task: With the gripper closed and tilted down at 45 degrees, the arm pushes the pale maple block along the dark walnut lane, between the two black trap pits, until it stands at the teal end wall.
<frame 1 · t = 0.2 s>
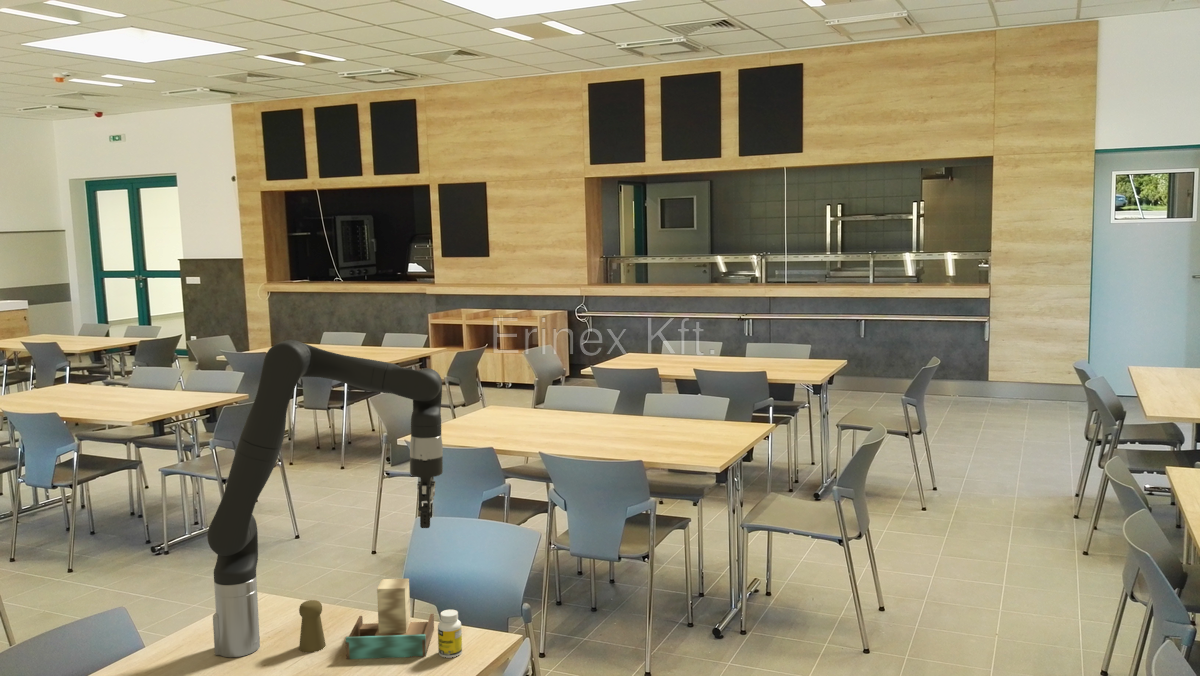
hand: (426, 522, 220), 29 cm above the table, tool pointing down, fingers open, 8 cm apart
maple block: (394, 627, 227), point 2 cm above the table, touching trap lane
trap lane: (391, 643, 223), on the table
supplement bottle: (450, 654, 217), on the table
olive pawn: (312, 647, 221), on the table
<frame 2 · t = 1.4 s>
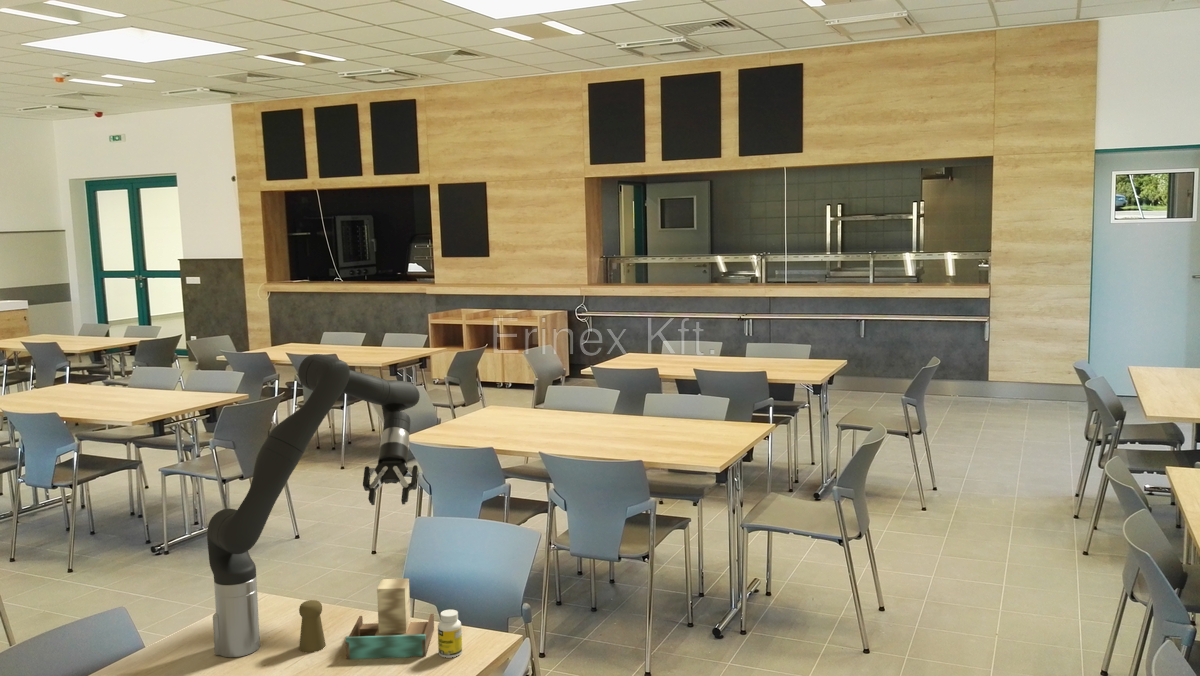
hand: (387, 503, 239), 29 cm above the table, tool tilted 45°, fingers open, 7 cm apart
nothing on the table moved.
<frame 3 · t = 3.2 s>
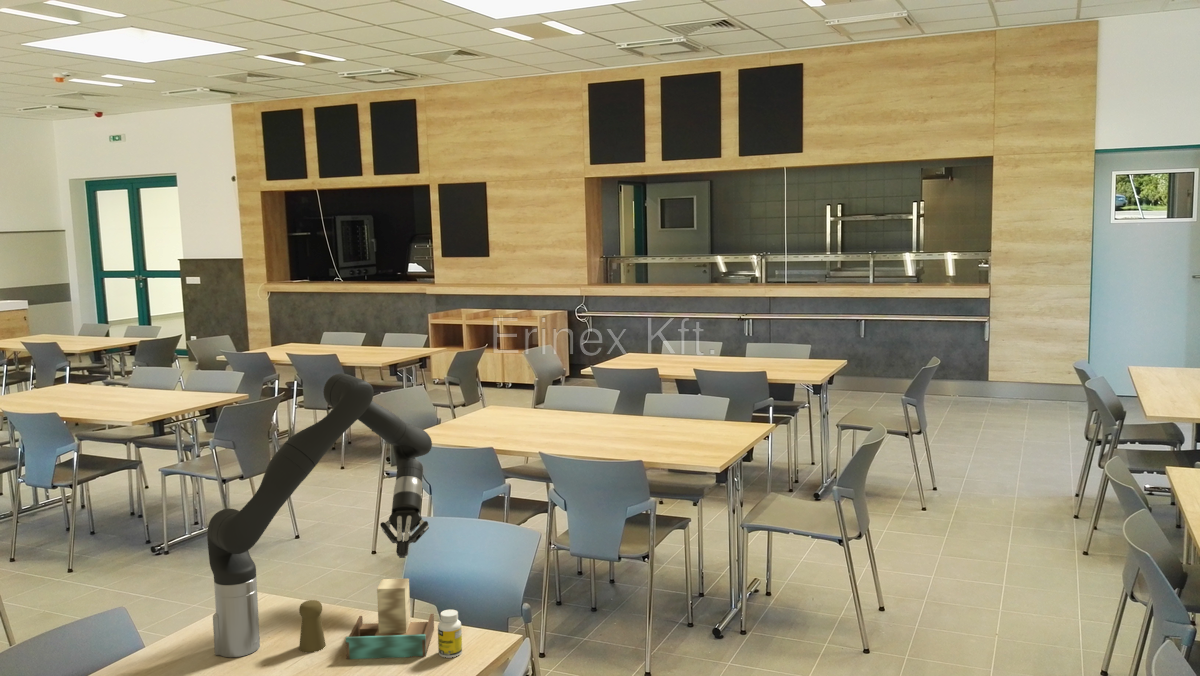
hand: (401, 556, 240), 15 cm above the table, tool tilted 45°, fingers closed
nothing on the table moved.
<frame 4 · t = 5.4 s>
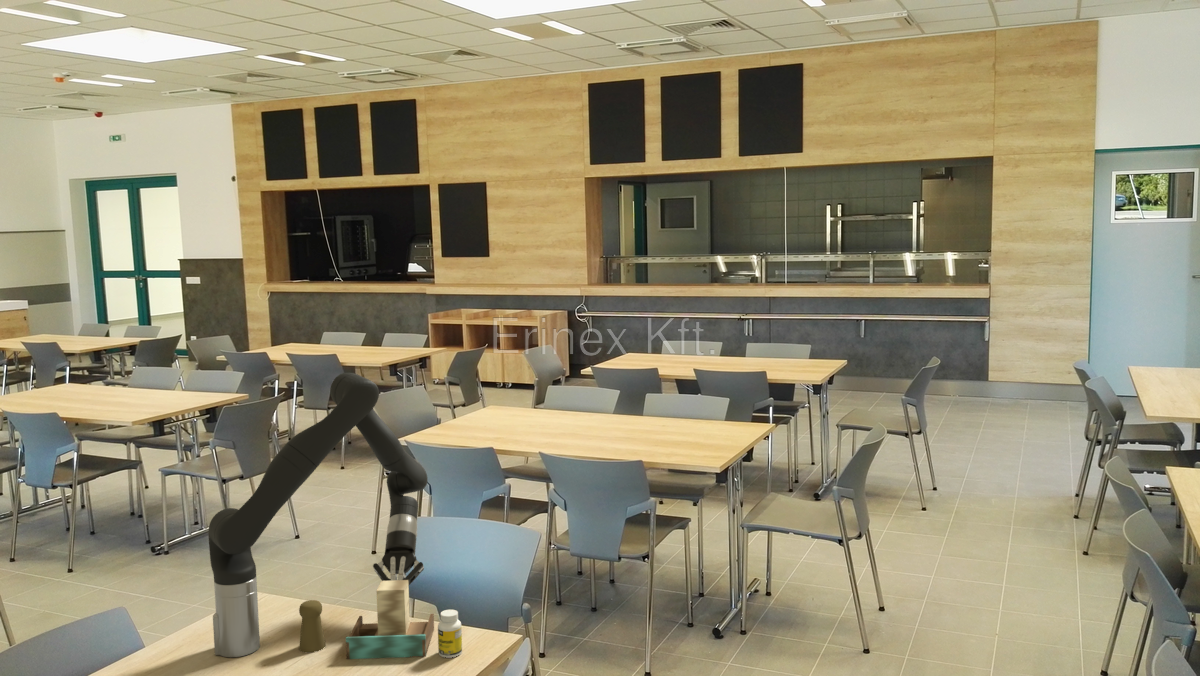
hand: (395, 600, 229), 8 cm above the table, tool tilted 45°, fingers closed
maple block: (394, 629, 226), point 2 cm above the table, touching gripper
everything else where it was.
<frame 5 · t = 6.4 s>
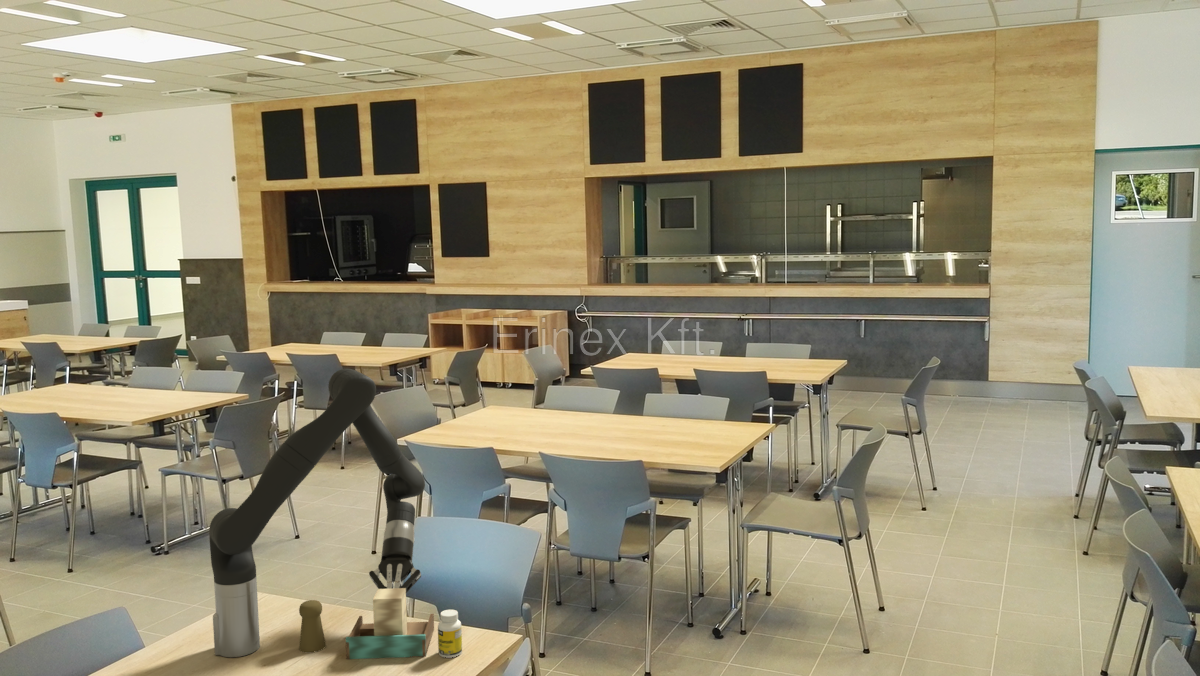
hand: (392, 608, 224), 8 cm above the table, tool tilted 45°, fingers closed
maple block: (391, 638, 220), point 2 cm above the table, touching gripper
everything else where it was.
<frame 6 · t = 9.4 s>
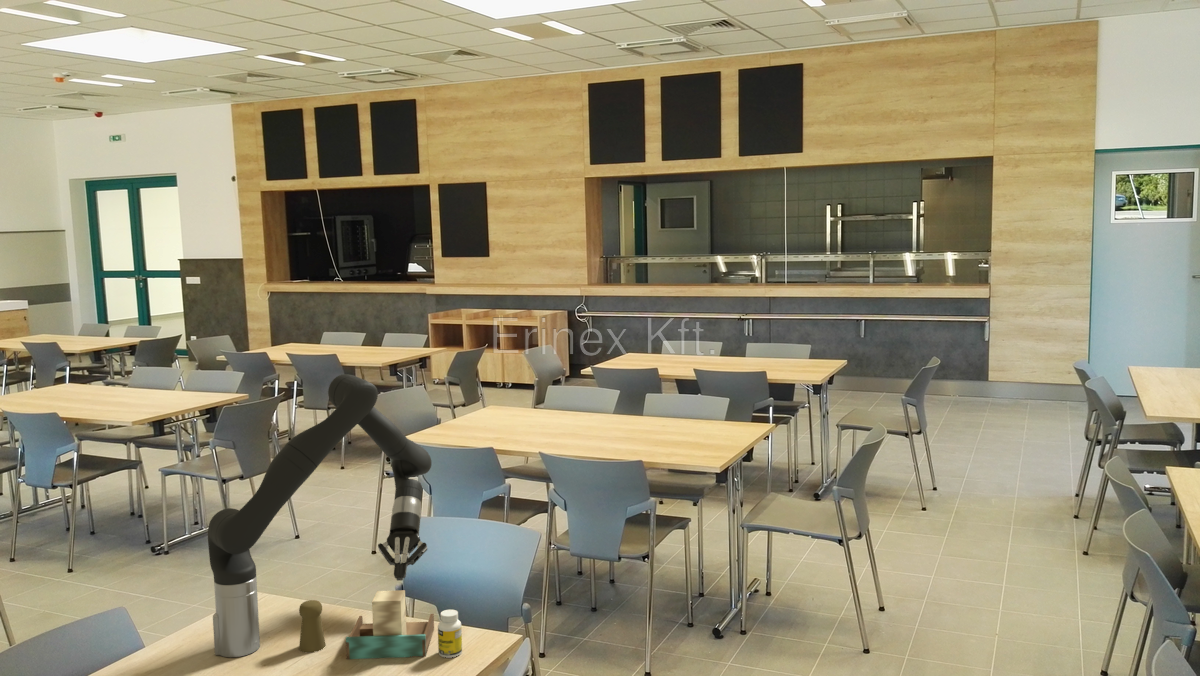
hand: (399, 579, 235), 11 cm above the table, tool tilted 45°, fingers closed
maple block: (390, 641, 219), point 2 cm above the table, touching trap lane
everything else where it was.
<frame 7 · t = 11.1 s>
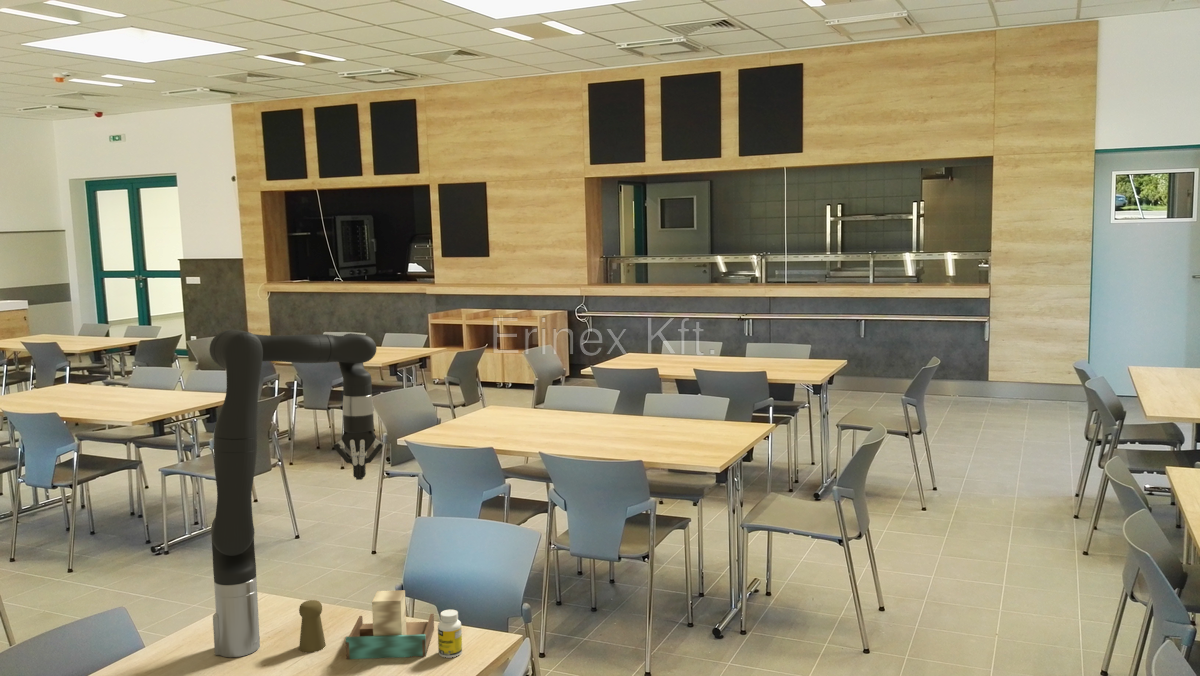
hand: (359, 478, 240), 35 cm above the table, tool pointing down, fingers closed
nothing on the table moved.
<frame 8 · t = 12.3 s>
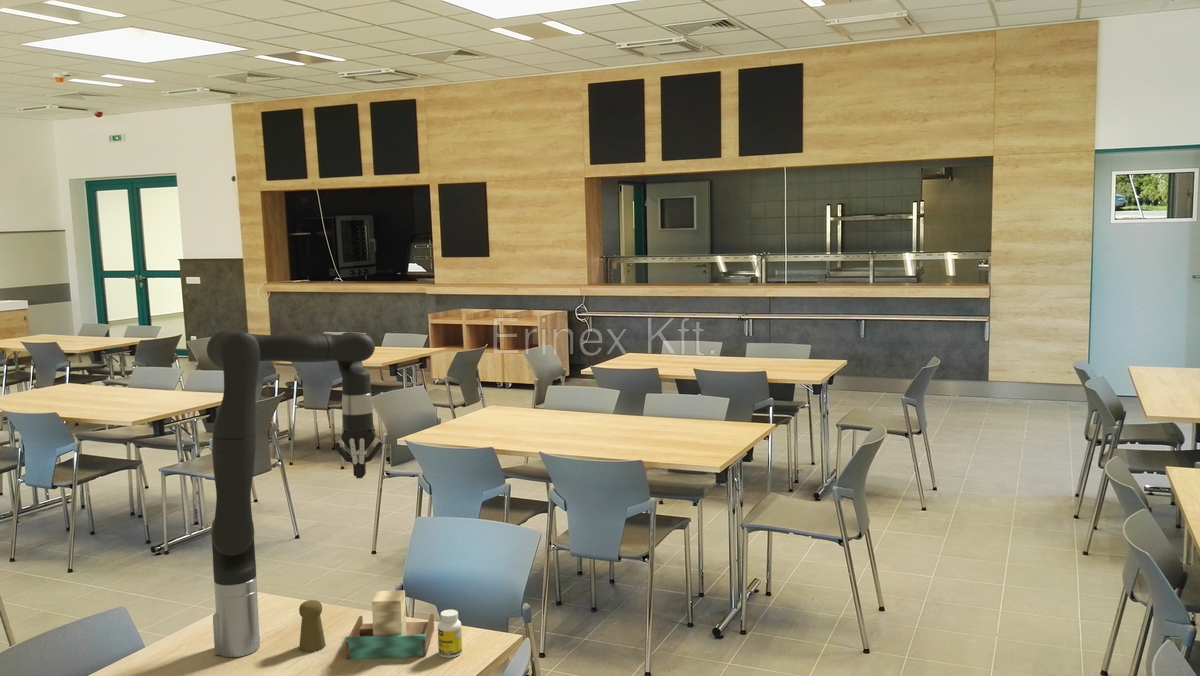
hand: (360, 477, 240), 35 cm above the table, tool pointing down, fingers closed
nothing on the table moved.
at the end: maple block inside the target area (0.5 cm from its centre), point 2.0 cm above the table; maple block tilted 0°; the gripper is holding nothing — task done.
